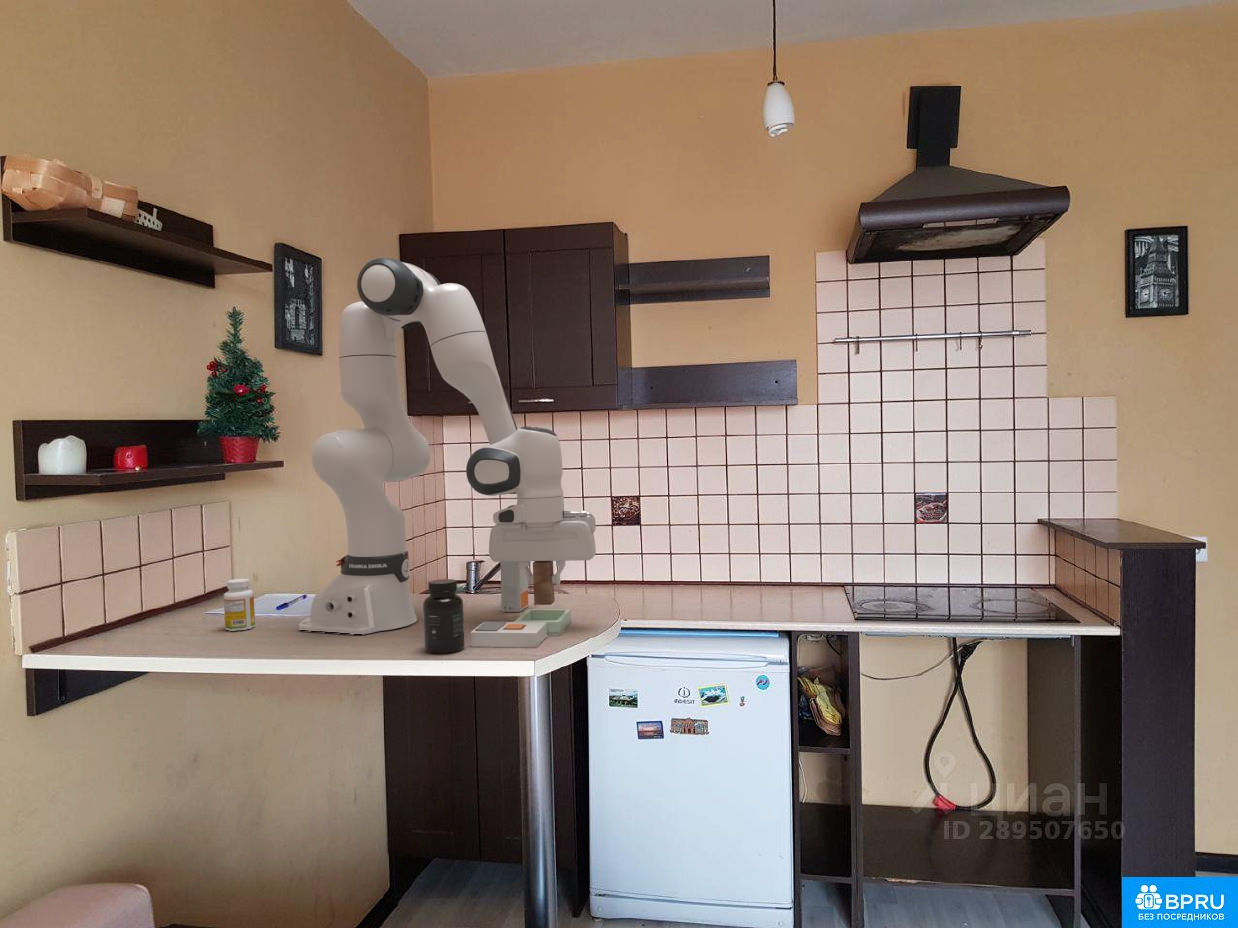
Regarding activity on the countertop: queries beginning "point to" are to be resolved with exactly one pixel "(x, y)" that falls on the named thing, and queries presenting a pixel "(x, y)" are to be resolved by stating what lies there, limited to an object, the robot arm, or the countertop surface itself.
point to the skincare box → (513, 587)
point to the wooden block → (543, 583)
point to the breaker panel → (508, 635)
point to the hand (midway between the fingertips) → (543, 584)
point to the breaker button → (514, 627)
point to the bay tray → (548, 619)
